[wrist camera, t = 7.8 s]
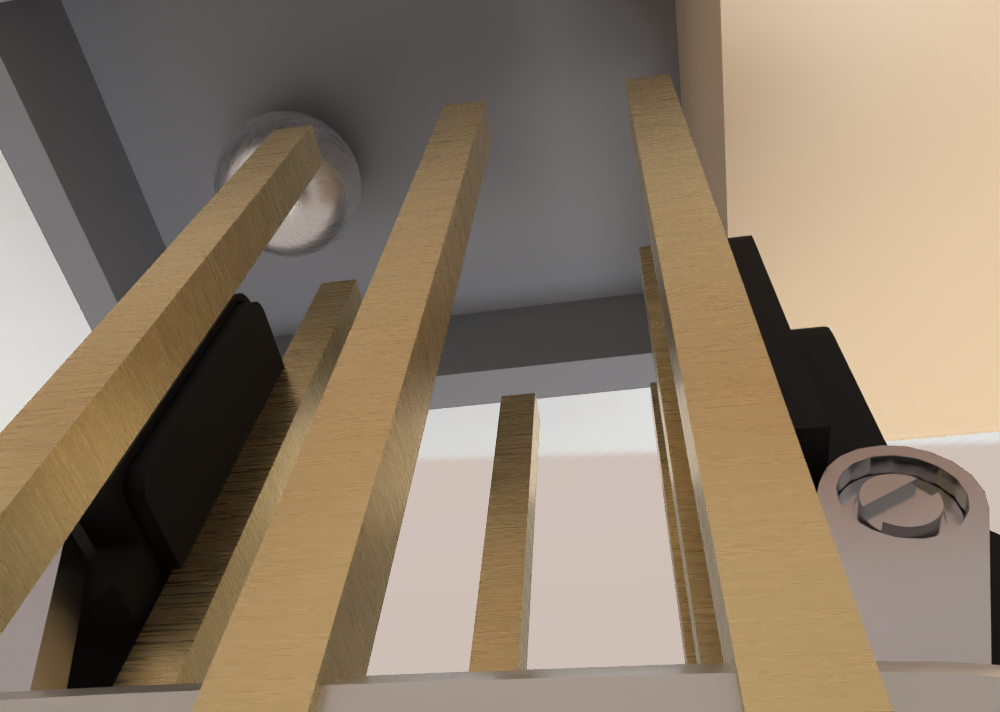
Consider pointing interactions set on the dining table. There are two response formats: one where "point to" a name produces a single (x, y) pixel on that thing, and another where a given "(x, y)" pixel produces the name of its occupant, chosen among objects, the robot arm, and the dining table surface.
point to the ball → (324, 199)
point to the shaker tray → (555, 167)
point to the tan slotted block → (397, 437)
